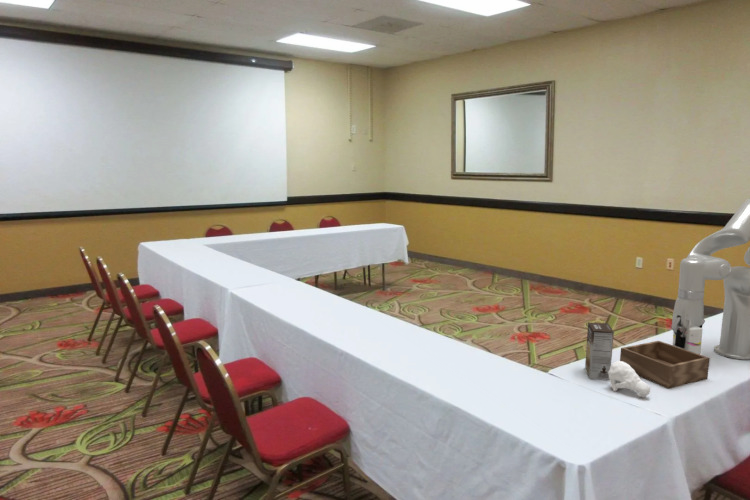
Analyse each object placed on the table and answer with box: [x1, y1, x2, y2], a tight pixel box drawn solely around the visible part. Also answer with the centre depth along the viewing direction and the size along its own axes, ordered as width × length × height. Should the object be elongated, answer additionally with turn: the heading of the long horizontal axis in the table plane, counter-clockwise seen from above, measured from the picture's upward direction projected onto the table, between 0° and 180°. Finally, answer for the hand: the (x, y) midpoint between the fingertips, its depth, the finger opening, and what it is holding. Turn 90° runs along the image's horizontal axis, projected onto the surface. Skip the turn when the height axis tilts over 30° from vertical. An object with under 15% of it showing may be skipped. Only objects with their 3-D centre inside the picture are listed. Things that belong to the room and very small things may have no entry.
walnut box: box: [619, 340, 711, 390], centre depth 173 cm, size 18×18×7 cm
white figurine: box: [608, 360, 651, 399], centre depth 159 cm, size 6×8×12 cm
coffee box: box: [584, 322, 615, 381], centre depth 171 cm, size 9×6×16 cm
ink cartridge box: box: [672, 320, 703, 355], centre depth 184 cm, size 9×5×15 cm, turn 5°
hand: (686, 344), depth 184 cm, fingers closed on ink cartridge box, 6 cm apart
